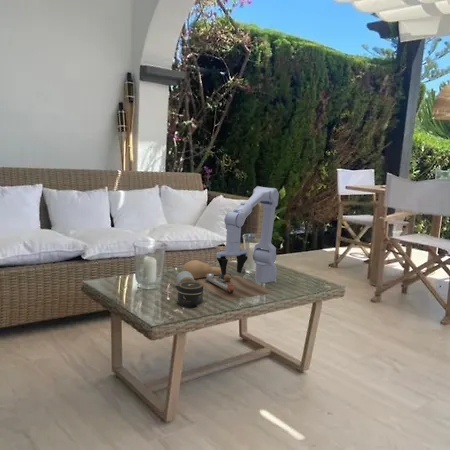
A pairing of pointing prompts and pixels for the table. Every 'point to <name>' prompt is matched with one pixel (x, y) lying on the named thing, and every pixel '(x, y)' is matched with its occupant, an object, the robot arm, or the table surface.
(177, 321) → the table surface
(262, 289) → the board
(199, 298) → the jar
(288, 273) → the table surface
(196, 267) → the squash
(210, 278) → the lever
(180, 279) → the ceramic mug
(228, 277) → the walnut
